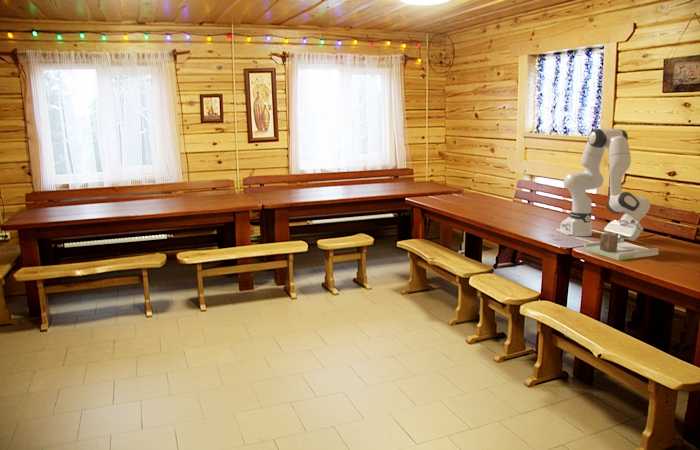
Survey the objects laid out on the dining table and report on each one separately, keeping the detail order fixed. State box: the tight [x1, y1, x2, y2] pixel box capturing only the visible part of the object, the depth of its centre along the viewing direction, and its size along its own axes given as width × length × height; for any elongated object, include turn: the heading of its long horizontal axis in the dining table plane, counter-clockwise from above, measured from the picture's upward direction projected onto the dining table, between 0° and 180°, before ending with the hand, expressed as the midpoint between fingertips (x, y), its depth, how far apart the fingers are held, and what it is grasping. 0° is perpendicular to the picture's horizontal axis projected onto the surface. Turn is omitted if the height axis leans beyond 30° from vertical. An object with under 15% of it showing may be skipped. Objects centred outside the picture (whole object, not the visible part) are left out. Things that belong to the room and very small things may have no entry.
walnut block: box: [599, 232, 618, 252], centre depth 314 cm, size 6×6×9 cm
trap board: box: [583, 238, 659, 261], centre depth 319 cm, size 25×28×4 cm
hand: (612, 241), depth 316 cm, fingers closed, pressing on walnut block
